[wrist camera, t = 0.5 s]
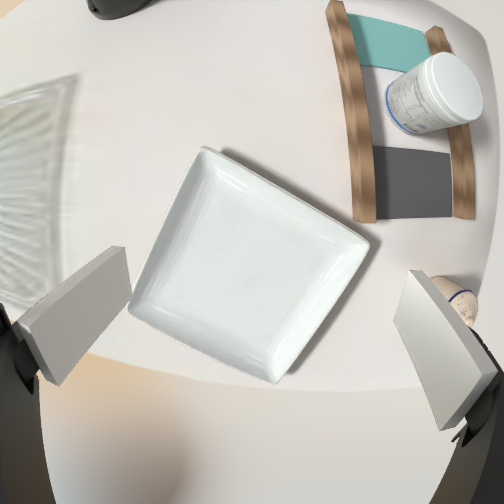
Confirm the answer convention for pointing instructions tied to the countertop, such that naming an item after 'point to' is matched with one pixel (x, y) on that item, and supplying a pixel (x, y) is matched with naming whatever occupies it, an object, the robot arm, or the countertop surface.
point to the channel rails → (361, 127)
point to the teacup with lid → (458, 299)
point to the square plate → (243, 268)
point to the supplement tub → (434, 96)
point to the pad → (387, 44)
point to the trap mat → (412, 183)
